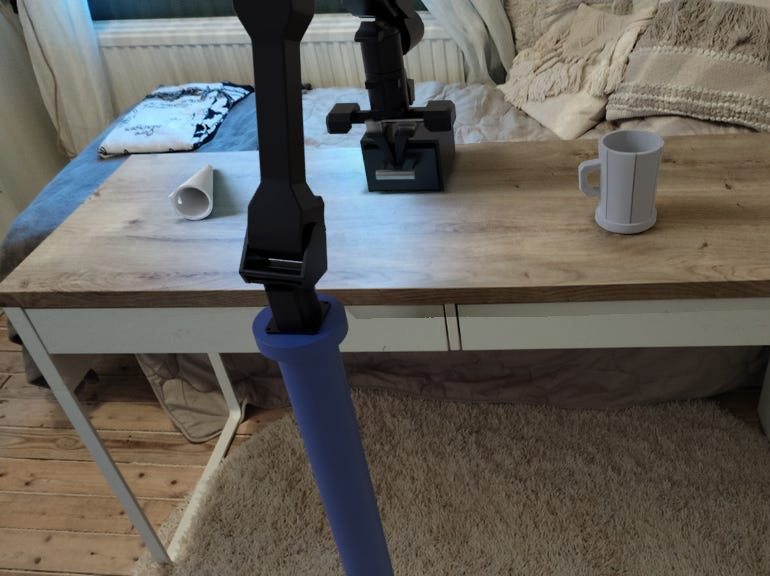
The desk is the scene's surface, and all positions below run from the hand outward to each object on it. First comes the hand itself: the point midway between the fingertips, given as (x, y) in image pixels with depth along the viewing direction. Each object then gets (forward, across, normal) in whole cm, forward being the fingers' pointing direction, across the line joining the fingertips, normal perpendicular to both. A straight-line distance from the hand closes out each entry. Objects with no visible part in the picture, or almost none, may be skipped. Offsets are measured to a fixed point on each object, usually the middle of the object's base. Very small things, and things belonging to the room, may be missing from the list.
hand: (399, 171), depth 110 cm
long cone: (+5, +34, -3) cm, 34 cm away
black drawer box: (+5, 0, -10) cm, 11 cm away
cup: (+5, -34, +8) cm, 35 cm away
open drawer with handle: (+4, 0, -6) cm, 7 cm away
